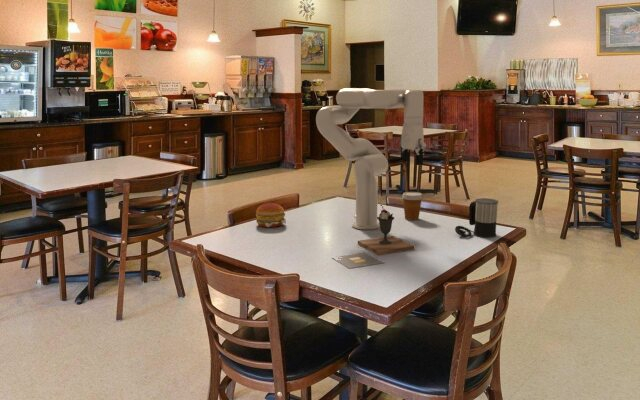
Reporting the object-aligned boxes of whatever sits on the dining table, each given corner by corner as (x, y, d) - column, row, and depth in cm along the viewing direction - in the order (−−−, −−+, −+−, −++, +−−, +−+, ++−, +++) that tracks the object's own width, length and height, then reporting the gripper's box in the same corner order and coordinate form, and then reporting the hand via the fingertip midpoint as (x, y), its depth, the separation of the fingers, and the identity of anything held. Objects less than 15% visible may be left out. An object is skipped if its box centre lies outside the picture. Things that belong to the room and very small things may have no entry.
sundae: (375, 240, 228) (375, 203, 225) (391, 240, 229) (392, 203, 225) (378, 245, 222) (378, 207, 219) (395, 244, 222) (396, 206, 219)
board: (357, 244, 228) (357, 240, 228) (392, 239, 235) (392, 235, 235) (378, 255, 214) (378, 251, 214) (414, 249, 221) (414, 245, 221)
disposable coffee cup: (401, 220, 265) (401, 195, 263) (401, 216, 275) (402, 191, 272) (422, 221, 264) (422, 195, 261) (422, 216, 273) (422, 192, 271)
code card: (331, 257, 212) (331, 257, 212) (364, 252, 217) (364, 252, 217) (349, 268, 199) (349, 268, 199) (383, 263, 205) (384, 262, 205)
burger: (259, 221, 268) (259, 200, 266) (288, 221, 266) (288, 200, 264) (252, 228, 255) (251, 206, 253) (282, 229, 253) (282, 207, 251)
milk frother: (500, 235, 240) (502, 200, 237) (480, 242, 230) (482, 206, 227) (470, 229, 250) (472, 195, 247) (450, 235, 240) (451, 201, 237)
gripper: (393, 120, 239) (393, 161, 242) (417, 122, 223) (416, 166, 227) (409, 119, 242) (408, 160, 245) (433, 122, 226) (432, 165, 230)
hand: (412, 163), depth 236 cm, fingers open, 9 cm apart
